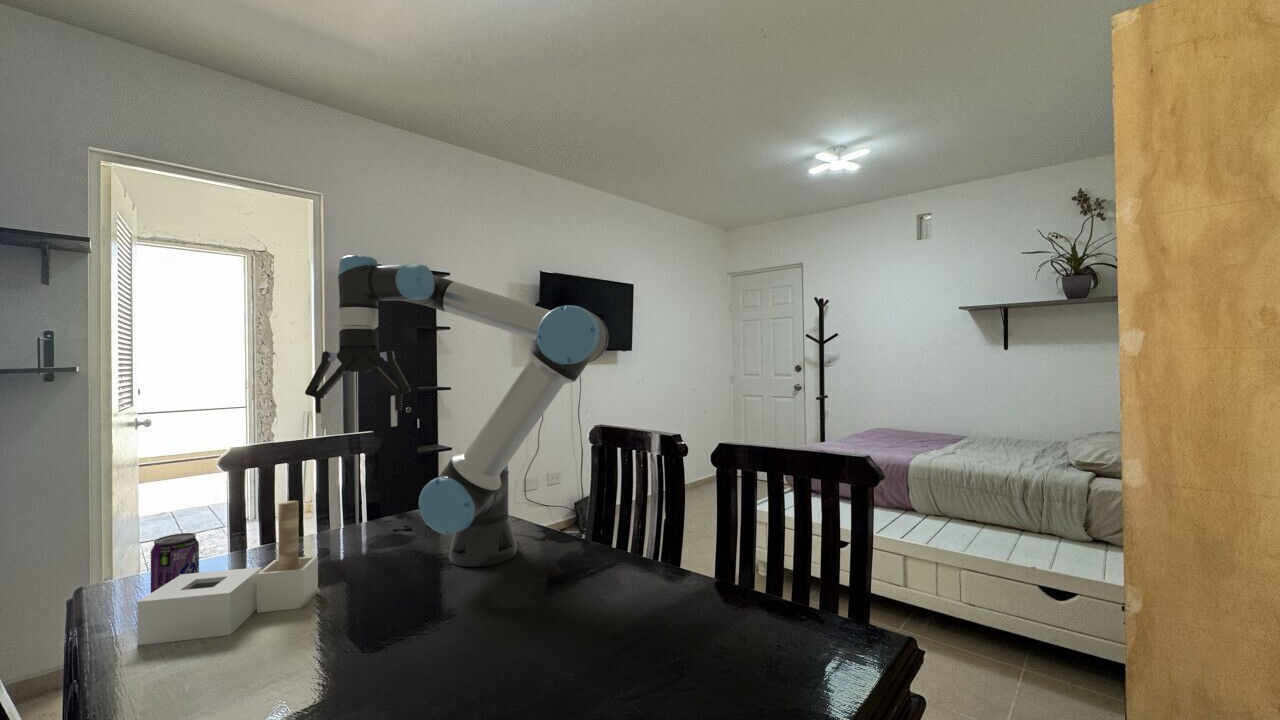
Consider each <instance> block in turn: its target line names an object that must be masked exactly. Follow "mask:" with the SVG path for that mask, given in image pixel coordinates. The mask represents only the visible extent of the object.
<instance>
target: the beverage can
mask: <svg viewBox="0 0 1280 720" xmlns="http://www.w3.org/2000/svg"><path fill="white" fill-rule="evenodd" d="M196 536H197V535H196V533H193V532H182V533H175V534H174V533H173V534H170V535H165V536H161V537H159V538H157V539H154V540H153V543H154V544H153V546H152V548H151V551H150V594H151V593H152V592H154V591H155V590H157V589H159V588H160V587H162V586H163V585H165V584H167V583H168V582H170V581H171V580H173V579H175V578H176V577H178V576H179V575H181V574H191V573H200V543H199V541H198V540H197V538H196Z"/></svg>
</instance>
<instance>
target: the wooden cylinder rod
mask: <svg viewBox="0 0 1280 720" xmlns="http://www.w3.org/2000/svg"><path fill="white" fill-rule="evenodd" d="M299 520H300V518H299V500H288V501H287V500H285V501H282V502H279V503H278V560H279V571H286V570H296V569H299V558H300V557H299V556H300V555H299V553H300V552H299V551H300V548H299V547H300V545H299V542H300V540H299V537H300V536H299V534H300V533H299V529H300V527H299V523H300V522H299Z"/></svg>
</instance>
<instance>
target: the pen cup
mask: <svg viewBox="0 0 1280 720" xmlns="http://www.w3.org/2000/svg"><path fill="white" fill-rule="evenodd" d="M318 559H319V558H318V556H317V555H316V556H303V557H299V569H296V570H286V571H279V559H274V560H272V561H271V562H270V563H269V564H268V565H266V566H265V567H264V568H262V570H261V571H260V572H259V573H258V574H257V610H256V613H257V614H259V613H267V612H268V613H269V612H279V611H285V610H286V611H287V610H296V609H305V607H306V606H307V605H308V603H310V601H311V600H312V599H313V598H314V597H315V596H316V594H317V593H318V592H319V565H318V563H319V562H318Z"/></svg>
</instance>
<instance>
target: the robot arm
mask: <svg viewBox="0 0 1280 720" xmlns="http://www.w3.org/2000/svg"><path fill="white" fill-rule="evenodd" d="M337 280H338V296H339V301H338V302H339V303H338V304H339V305H338V326H339V327H340V328H342V329H340V330H339V331H338V332H339V333H338V338H339V339H338V340H339V341H338V342H339V343H338V348H339V350H338V352H331V351H325V350H324V351H323V352H322V354H321V361H320V363H319V366H317V368H316V371H315V373H314V374H313V376H312V378H311V380H310V381H309V384H308V386H307V388H306V390H305V391H304V394H305V395H306V396H310V397H312V398H314V400H315V413H316V414H320V430H326V429H327V430H328V429H329V428H330V408H329V407H330V402H329V400H330V398H329V397H326V396H327V394H328V393H329V392H330V391H331V389H332V388H333V387H334V386H335V385H337V383H338V382H339V381H340V380H341V378H342V377H343V376H344V375H345V374H346V373H347V372H350V373H358V372H362V373H367V372H372V373H373V374H374V375H375V376H376V377H377V378H378V379H379V380H380V381H381V382H382V383H383V385H385V386H386V387H387V388H388V389H389V390H390V391H391V393H393V394H394V395H391V396H390V427H392V428H393V427H394V428H395V427H397V426H398V411H402V409H403V396H404V394H405V395H406V394H408V393H410V392H411V391H412V389H411V386H410V384H409V382H408V381H407V379H406V377H405V375H404V373H403V372H402V370H401V368H400V367H399V364H398V363H397V360H396V355H395V351H393V350H387V351H383V352H381V351H380V348H379V331H378V330H377V328H378V327H379V302H384V301H385V302H386V301H387V302H388V301H401V302H402V301H403V302H407V303H412V304H416V305H422V306H426V307H429V308H432V309H435V310H439V311H442V312H446V313H449V314H452V315H455V316H459V317H461V318H465V319H467V320H471V321H475V322H478V323H480V324H484V325H487V326H491V327H494V328H497V329H500V330H502V331H507V332H509V333H512V334H516V335H518V336H522V337H525V338H527V339H531V340H534V341H533V342H532V344H531V345H530V346H529V348H528V350H527V351H528V356H529V360H528V362H527V364H526V365H525V366H524V368H523V369H522V371H521V372H520V374H519V375H518V377H517V378H516V379H515V381H514V382H513V384H511V386H510V387H509V389H508V391H507V392H506V393H505V395H504V397H503V398H502V399H501V401H499V403H498V405H497V406H496V408H495V410H493V412H492V413H491V415H490V416H489V417H488V419H487V421H486V422H485V423H484V425H483V426H482V427H481V429H480V431H479V432H478V434H476V436H475V437H474V439H473V440H472V442H471V443H470V445H469V446H468V448H467V449H466V450H465V451H464V452H462V453H456V454H454V455H453V457H452V458H451V459H450V461H449V462H447V464H446V466H445V467H444V469H443V470H442V472H441V473H440V474H439V476H437V477H435V478H433V479H431V480H429V482H428V483H427V484H425V485H424V486H423V488H422V490H421V492H420V495H419V497H418V508H419V511H420V516H421V518H422V520H423V522H425V524H426V526H428V527H429V528H431V529H432V530H433V531H434V532H437V533H440V534H444V535H445V534H446V535H452V534H453V537H452V540H451V543H450V547H449V558H448V559H449V561H450V563H451V564H454V565H456V566H459V567H469V568H471V567H472V568H475V567H476V568H478V567H486V566H492V565H498V564H500V563H501V564H502V563H503V562H506V561H509V560H511V559H512V558H514V557H515V556H516V554H517V540H516V538H515V535H514V532H513V530H512V525H511V524H510V520H509V518H510V517H509V474H510V470H509V468H508V467H509V465H508V464H509V462H510V461H511V459H512V458H513V457H514V456H515V454H516V453H517V451H518V450H519V448H520V447H521V445H523V443H524V441H525V440H526V438H527V437H528V436H529V435H530V433H531V432H532V430H533V429H534V427H535V426H536V425H537V423H538V421H539V420H540V418H542V416H543V414H544V413H545V412H546V411H547V409H548V408H549V406H550V405H551V403H552V402H553V401H554V399H555V398H556V396H557V395H558V394H559V392H560V391H561V389H562V388H563V387H564V385H566V384H570V383H575V382H576V381H577V379H579V376H580V375H581V373H583V372H584V369H585V368H586V367H587V366H588V365H589V363H592V362H595V361H597V360H598V359H599V358H601V356H602V355H603V354H604V353H605V351H606V349H607V348H608V346H609V345H608V344H609V332H608V327H607V326H606V324H605V322H604V321H603V319H601V318H600V316H598V315H596V314H595V313H593V312H591V311H589V310H587V309H585V308H584V307H582V306H579V305H574V304H572V305H571V304H570V305H561V306H557V307H555V308H553V309H551V310H550V309H547V308H543V307H540V306H537V305H534V304H530V303H527V302H524V301H521V300H517V299H513V298H510V297H507V296H504V295H501V294H497V293H494V292H491V291H488V290H485V289H482V288H481V289H480V288H477V287H474V286H471V285H468V284H463V283H462V282H457V281H454V280H452V279H451V280H450V279H447V278H445V277H441V276H439V275H435V274H433V272H432V271H431V270H430V268H429V267H428V266H427V265H424V264H414V263H407V264H395V265H392V264H391V265H379V264H378V260H377V259H375V258H374V257H370V256H365V255H354V254H353V255H345V256H343V257H341V258H340V259H339V262H338V275H337ZM381 358H382V359H383V360H384V361H385V362H387V364H388V366H389V368H390V370H391V371H392V373H393V375H394V377H395V378H396V380H397V383H398V384H399V386H400V387H401V388H400V387H398V385H397V384H396V383H395V382H394V381H393V380H392V379H391V378H390V376H389V375H387V374H386V373H385V371H384V370H383V369H382V368H381V367H380V366H379V365H378V363H379V361H380V360H381ZM336 359H338V361H339V362H340V365H339V366H338V367H337V368H336V370H335V371H334V373H333V374H332V375H331V376H330V377H329V378H328V380H326V381H325V382H324V383H323V384H322V386H321V387H320V385H321V383H322V381H323V380H324V377H325V375H326V374H327V372H328V371H329V368H330V367H331V364H332V363H334V361H335V360H336ZM319 387H320V388H319ZM318 388H319V389H318Z"/></svg>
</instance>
